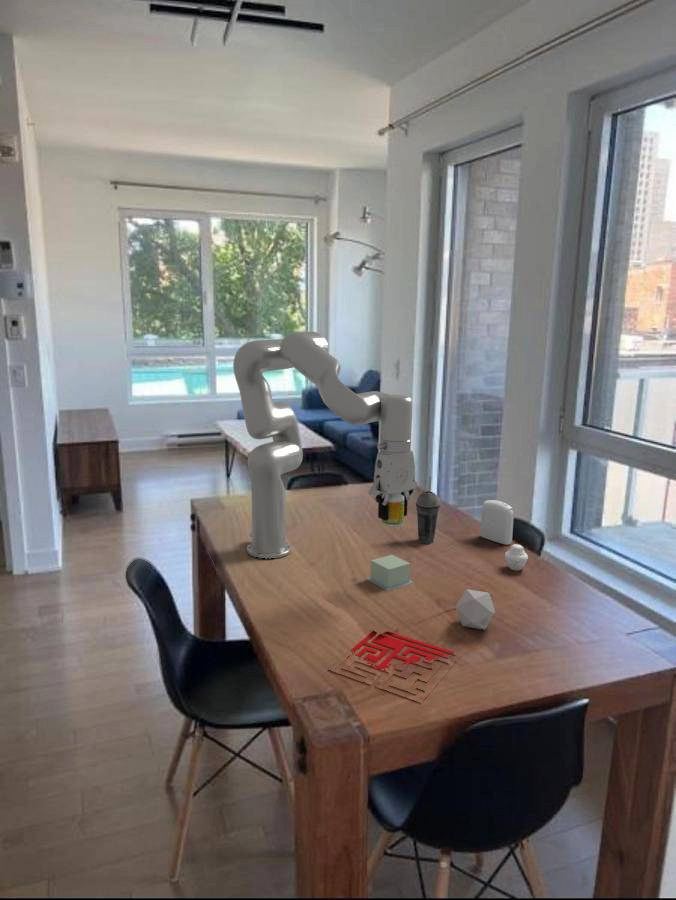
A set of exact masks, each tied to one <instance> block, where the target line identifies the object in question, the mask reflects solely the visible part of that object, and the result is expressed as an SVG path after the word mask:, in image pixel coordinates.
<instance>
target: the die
mask: <svg viewBox="0 0 676 900" xmlns="http://www.w3.org/2000/svg"><path fill="white" fill-rule="evenodd" d="M455 609H456V612H457V615H458V618H459V620H460V624H461V626H462V627H466V628H472V629H477V630H482V629H483V630H484V631H485V630H486V629H487V627H488V625H489V623H490V622H491V620H492V618H493V616H494V615H495V613H496V610H495V607H494V603H493V601H492V598H491V594H490V592H485V591H481V590H480V591H479V590H473V589H465V591H464V592H463V594H462V595H461V597H460V599H459V601H458V602H457V604H456V606H455Z"/></svg>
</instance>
